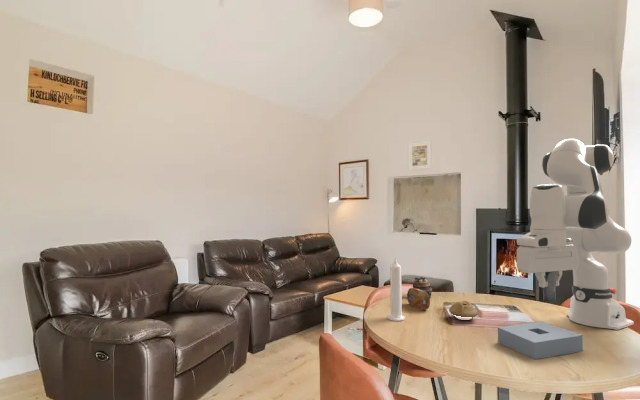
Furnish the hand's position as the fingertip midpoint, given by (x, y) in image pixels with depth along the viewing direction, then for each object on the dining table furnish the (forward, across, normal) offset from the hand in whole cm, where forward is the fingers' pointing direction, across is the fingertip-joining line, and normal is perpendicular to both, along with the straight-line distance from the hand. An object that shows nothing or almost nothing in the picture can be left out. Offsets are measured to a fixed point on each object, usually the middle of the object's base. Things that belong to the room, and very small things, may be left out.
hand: (549, 286), depth 100 cm
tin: (+23, +2, -62) cm, 67 cm away
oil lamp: (+23, -6, -44) cm, 50 cm away
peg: (+4, 0, 0) cm, 4 cm away
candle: (+23, +21, -52) cm, 60 cm away
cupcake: (+23, -10, -78) cm, 82 cm away
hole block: (+23, -9, -12) cm, 27 cm away
